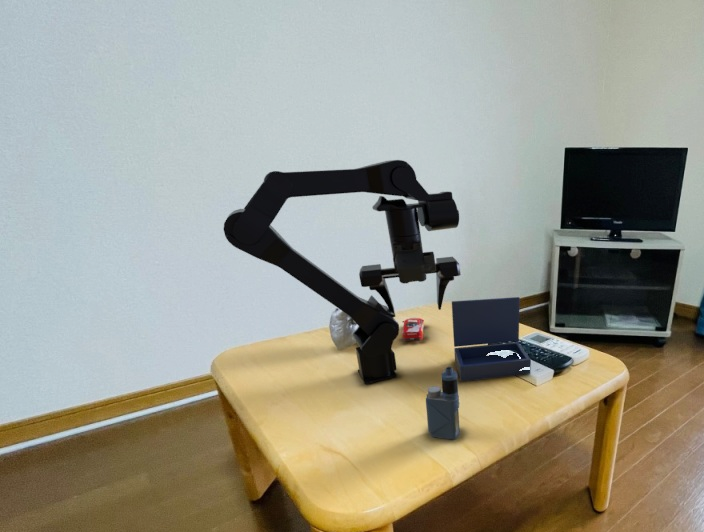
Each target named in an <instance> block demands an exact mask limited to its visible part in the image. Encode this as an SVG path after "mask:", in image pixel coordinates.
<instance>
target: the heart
mask: <svg viewBox="0 0 704 532" xmlns="http://www.w3.org/2000/svg"><path fill="white" fill-rule="evenodd" d="M358 327H359V325H358V324H357V323H356V322H355V321H354V320H353V319H352V318H351V317H350V316H349V315H347V314H346V313H345V312H343V311H342V310H340V309H339V308H337V307H336V308H334V310H332V312H331V314H330V318H329V325H328V328H329V333H330V338H331V341H332V343H333V344H334V346H335V348H336V350H340V351H341V350H342V351H343V350H345V349H347V348H350V347H351V346H353V345H355V344H358V343H357V341H356V340H355V338H354V336H353V333H354V332H355V330H356V329H357V328H358Z"/></svg>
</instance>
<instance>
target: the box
mask: <svg viewBox="0 0 704 532" xmlns="http://www.w3.org/2000/svg"><path fill="white" fill-rule="evenodd" d="M453 350H454V351H453V353H454V363H455V366H456V369H457V374H458V376H459V379H460V382H461V383H462V382H471V381H478V380H487V379H495V378H503V377H504V378H505V377H512V376H513V377H515V376H523V375H530V374H531V369H530V370H522V371H519V370H520V369H522V368H524V367H530V368H531V367H532V366H531V365H532V364H531V363H532V360H531V358H530V356H529V355H528V354H527V352H526V351H525V350H524V348H523V346H522V345H521V344H520V342H519V341H513V342H502V343H491V344H480V345H470V346H459V347H454V348H453ZM501 350H516V351H517V353H518V354H519V356H520V357H521V359H519V357H518V356H517V354H516V353H513V355H509V356H507V357H506V358H503V357H501V356H498V355H489V356H486V355H487V354H488V353H490V352H495V351H501Z"/></svg>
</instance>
